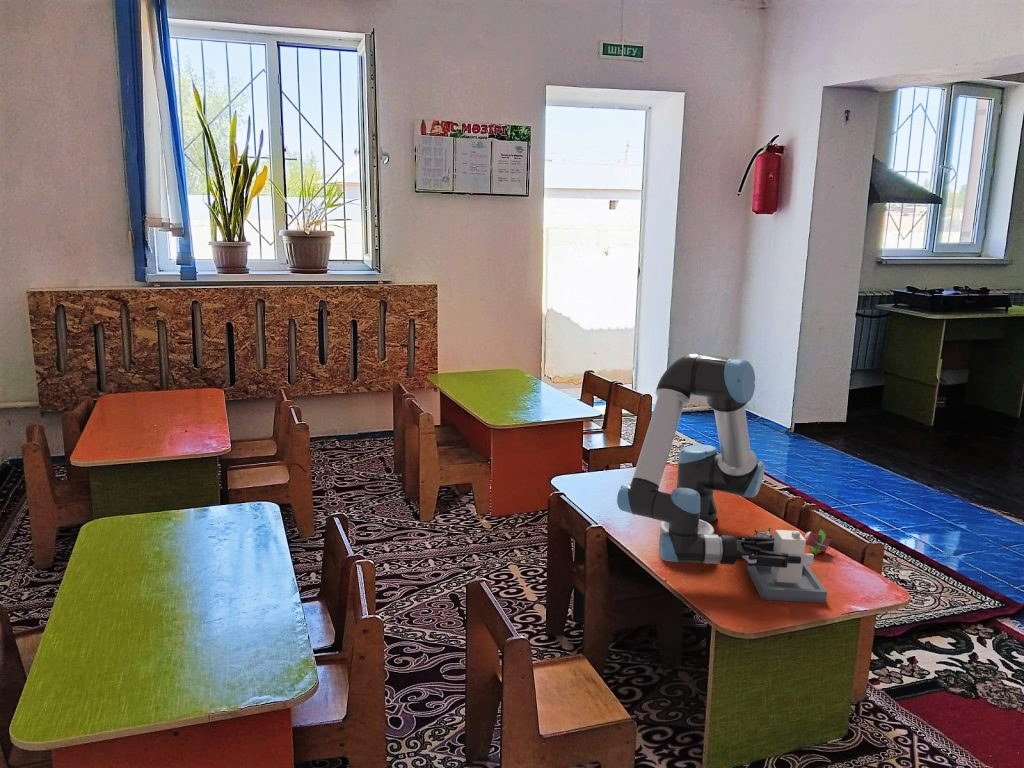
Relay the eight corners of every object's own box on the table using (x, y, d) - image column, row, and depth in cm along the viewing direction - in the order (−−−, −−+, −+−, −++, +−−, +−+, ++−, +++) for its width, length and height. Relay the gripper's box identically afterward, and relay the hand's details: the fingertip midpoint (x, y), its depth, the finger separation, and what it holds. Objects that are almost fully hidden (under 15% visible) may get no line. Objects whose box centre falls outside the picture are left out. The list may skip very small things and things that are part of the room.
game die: (768, 570, 220) (784, 554, 213) (740, 558, 221) (755, 540, 214) (772, 546, 226) (788, 529, 219) (745, 534, 227) (760, 516, 220)
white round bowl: (663, 562, 215) (665, 536, 214) (654, 539, 230) (656, 515, 229) (718, 564, 215) (720, 537, 214) (705, 541, 230) (707, 516, 229)
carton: (771, 571, 206) (775, 526, 203) (793, 572, 205) (799, 527, 203) (777, 582, 200) (782, 535, 197) (800, 583, 200) (806, 536, 197)
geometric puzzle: (830, 540, 228) (816, 520, 226) (841, 550, 221) (827, 529, 220) (809, 553, 229) (796, 533, 227) (820, 563, 222) (806, 543, 220)
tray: (746, 571, 211) (747, 561, 211) (805, 573, 211) (806, 563, 210) (762, 599, 196) (763, 588, 195) (825, 602, 195) (827, 592, 194)
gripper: (710, 547, 212) (795, 551, 211) (725, 579, 194) (819, 583, 192) (713, 521, 210) (798, 525, 209) (728, 551, 192) (822, 556, 191)
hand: (808, 553), depth 201 cm, fingers closed on carton, 6 cm apart
